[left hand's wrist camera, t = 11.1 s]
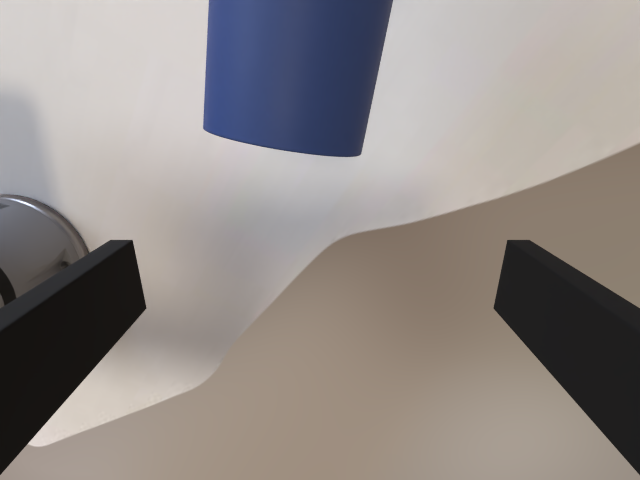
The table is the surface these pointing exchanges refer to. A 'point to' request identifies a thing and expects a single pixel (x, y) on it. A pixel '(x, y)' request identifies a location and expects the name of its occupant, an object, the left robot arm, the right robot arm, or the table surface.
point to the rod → (294, 72)
